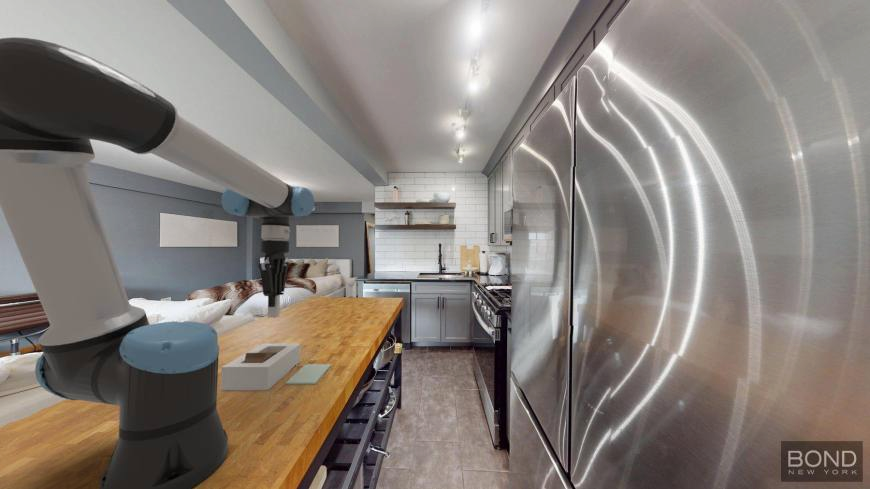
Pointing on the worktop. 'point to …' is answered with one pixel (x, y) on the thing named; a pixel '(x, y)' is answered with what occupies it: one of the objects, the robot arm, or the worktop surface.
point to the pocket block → (260, 368)
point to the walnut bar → (257, 357)
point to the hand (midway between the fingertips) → (273, 316)
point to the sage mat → (308, 374)
